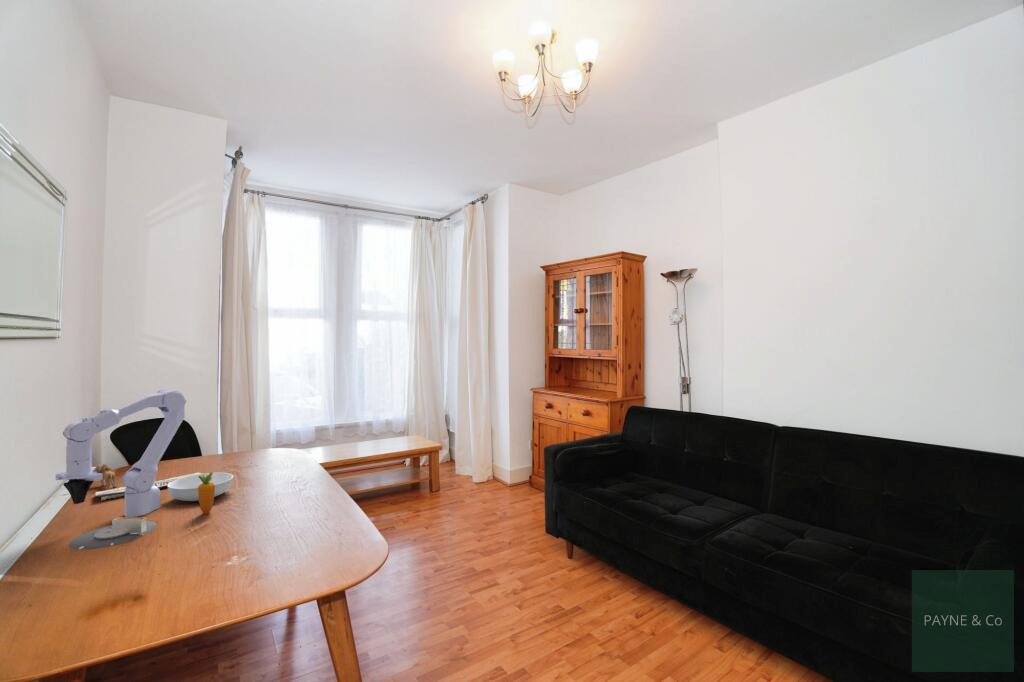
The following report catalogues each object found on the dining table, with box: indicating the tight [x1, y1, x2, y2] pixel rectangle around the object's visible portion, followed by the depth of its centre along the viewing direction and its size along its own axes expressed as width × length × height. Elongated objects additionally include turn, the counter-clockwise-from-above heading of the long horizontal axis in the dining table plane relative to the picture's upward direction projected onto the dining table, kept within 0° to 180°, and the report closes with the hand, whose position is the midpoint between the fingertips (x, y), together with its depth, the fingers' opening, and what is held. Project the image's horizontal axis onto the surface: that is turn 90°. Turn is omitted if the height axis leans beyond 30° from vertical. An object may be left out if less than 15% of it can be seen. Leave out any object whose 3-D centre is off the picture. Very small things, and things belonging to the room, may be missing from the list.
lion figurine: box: [92, 463, 118, 490], centre depth 182 cm, size 15×5×9 cm, turn 65°
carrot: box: [198, 471, 215, 515], centre depth 150 cm, size 5×5×15 cm
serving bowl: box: [166, 472, 234, 502], centre depth 169 cm, size 21×21×7 cm
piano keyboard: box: [95, 472, 203, 502], centre depth 180 cm, size 35×12×4 cm, turn 142°
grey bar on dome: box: [95, 516, 147, 541], centre depth 134 cm, size 14×9×5 cm, turn 90°
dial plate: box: [68, 520, 157, 551], centre depth 134 cm, size 20×20×1 cm
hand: (79, 502), depth 138 cm, fingers closed
